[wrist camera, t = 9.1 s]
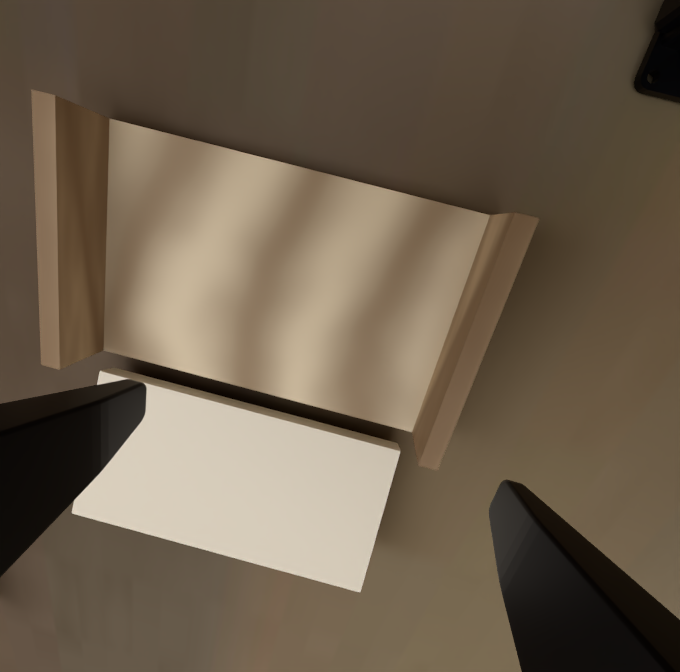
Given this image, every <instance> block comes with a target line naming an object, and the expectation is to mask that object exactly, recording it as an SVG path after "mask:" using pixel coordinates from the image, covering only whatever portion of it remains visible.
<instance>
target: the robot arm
mask: <svg viewBox="0 0 680 672" xmlns="http://www.w3.org/2000/svg"><path fill="white" fill-rule="evenodd" d="M649 73H650V74H651V75H652V77H653V81H652V83H649V82H648V81H647V75H648V74H649ZM634 87H635V89H636V91H637V92H639V93H642V94H646V95H650V96H654V97H658V98H662V99H666V100H670V101H674V102H678V103H680V0H664V2H663V4H662V7H661V9H660V11H659V14H658V16H657V18H656V21H655V34H654V36H653V38H652V40H651V43H650V45H649V47H648V50H647V52H646V54H645V57H644V59H643V61H642V63H641V66H640V68H639V70H638V73H637V75H636V77H635V81H634ZM146 393H147V388H146V385H145V384H144V383H143V382H139V381H135V380H132V379H125V380H120V381H115V382H110V383H104V384H99V385H94V386H89V387H84V388H79V389H74V390H69V391H64V392H58V393H53V394H48V395H43V396H38V397H33V398H28V399H23V400H18V401H12V402H7V403H2V404H0V577H1V576H2V575H3V574H4V573H5V572H6V571H7V570H8V569H9V567H10V566H11V565H12V564H13V563H14V562H15V561H16V560H17V559H18V558H19V557H20V556H21V555H22V554H23V553H24V552H25V551H26V550H27V549H28V548H29V547H30V546H31V545H32V544H33V543H34V541H35V540H36V539H37V538H38V537H39V536H40V535H41V534H42V533H43V532H44V531H45V530H46V529H47V528H48V527H49V526H50V525H51V524H52V523H53V522H54V521H55V520H56V519H57V518H58V517H59V515H60V514H61V513H62V512H63V511H64V510H65V509H66V508H67V507H68V506H69V505H70V504H71V503H72V502H73V501H74V500H75V499H76V498H77V497H78V496H79V495H80V494H81V493H82V492H83V491H84V489H85V488H86V487H87V486H88V485H89V484H90V483H91V482H92V481H93V480H94V479H95V478H96V477H97V476H98V475H99V474H100V472H101V471H102V470H103V469H104V468H105V467H106V465H107V464H108V463H109V462H110V461H111V459H112V458H113V457H114V456H115V454H116V453H117V452H118V450H119V449H120V448H121V447H122V445H123V444H124V443H125V442H126V440H127V439H128V438H129V437H130V435H131V434H132V433H133V432H134V430H135V429H136V428H137V427H138V425H139V424H140V423H141V421H142V420H143V418H144V416H145V412H146ZM489 518H490V525H491V532H492V538H493V545H494V551H495V558H496V565H497V571H498V577H499V582H500V587H501V591H502V595H503V599H504V603H505V607H506V611H507V615H508V619H509V623H510V627H511V631H512V635H513V639H514V643H515V647H516V651H517V655H518V659H519V662H520V666H521V670H522V672H680V620H679V619H678V618H677V617H676V616H675V615H674V614H672V613H671V612H670V611H669V610H668V609H667V608H665V607H664V606H663V605H662V604H661V603H660V602H658V601H657V600H656V599H655V598H654V597H653V596H652V595H650V594H649V593H648V592H647V591H646V590H645V589H643V588H642V587H641V586H640V585H639V584H638V583H636V582H635V581H634V580H633V579H632V578H631V577H630V576H628V575H627V574H626V573H625V572H624V571H623V570H621V569H620V568H619V567H618V566H617V565H616V564H614V563H613V562H612V561H611V560H610V559H609V558H608V557H606V556H605V555H604V554H603V553H602V552H601V551H599V550H598V549H597V548H596V547H595V546H594V545H593V544H591V543H590V542H589V541H588V540H587V539H586V538H584V537H583V536H582V535H581V534H580V533H579V532H577V531H576V530H575V529H574V528H573V527H572V526H571V525H569V524H568V523H567V522H566V521H565V520H564V519H562V518H561V517H560V516H559V515H558V514H557V513H556V512H554V511H553V510H552V509H551V508H550V507H549V506H547V505H546V504H545V503H544V502H543V501H542V500H540V499H539V498H538V497H537V496H536V495H535V494H534V493H532V492H531V491H530V490H529V489H528V488H527V487H525V486H524V485H523V484H521V483H517V482H514V481H510V480H504V481H502V482H501V484H500V486H499V488H498V490H497V492H496V494H495V496H494V498H493V500H492V502H491V505H490V508H489Z"/></svg>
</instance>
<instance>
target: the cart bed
mask: <svg viewBox="0 0 680 672" xmlns="http://www.w3.org/2000/svg"><path fill="white" fill-rule="evenodd" d="M31 92H32V120H33V148H34V176H35V204H36V232H37V260H38V288H39V317H40V345H41V365H44V366H48V367H52V368H56V369H59V370H60V369H62V368H64V367H67V366H69V365H71V364H73V363H76V362H78V361H80V360H82V359H85V358H87V357H89V356H92V355H94V354H96V353H98V352H101V351H103V350H105V351H108V352H112V353H116V354H120V355H123V356H127V357H131V358H135V359H138V360H142V361H146V362H150V363H153V364H157V365H161V366H165V367H168V368H172V369H176V370H180V371H184V372H187V373H191V374H195V375H199V376H202V377H206V378H210V379H214V380H217V381H221V382H225V383H229V384H232V385H236V386H240V387H244V388H247V389H251V390H255V391H259V392H262V393H266V394H270V395H274V396H278V397H281V398H285V399H289V400H293V401H296V402H300V403H304V404H308V405H311V406H315V407H319V408H323V409H326V410H330V411H334V412H338V413H341V414H345V415H349V416H353V417H356V418H360V419H364V420H368V421H371V422H375V423H379V424H383V425H387V426H390V427H394V428H398V429H402V430H405V431H409V432H412V435H413V440H414V446H415V451H416V456H417V461H418V466H422V467H426V468H429V469H433V470H437V471H438V468H439V466H440V463H441V461H442V458H443V456H444V453H445V451H446V449H447V446H448V444H449V441H450V439H451V436H452V434H453V431H454V429H455V426H456V424H457V421H458V419H459V416H460V414H461V411H462V409H463V406H464V404H465V402H466V399H467V397H468V394H469V392H470V389H471V387H472V384H473V382H474V379H475V377H476V374H477V372H478V369H479V367H480V364H481V362H482V359H483V357H484V355H485V352H486V350H487V347H488V345H489V342H490V340H491V337H492V335H493V332H494V330H495V327H496V325H497V322H498V320H499V317H500V315H501V312H502V310H503V308H504V305H505V303H506V300H507V298H508V295H509V293H510V290H511V288H512V285H513V283H514V280H515V278H516V275H517V273H518V270H519V268H520V266H521V263H522V261H523V258H524V256H525V253H526V251H527V248H528V246H529V243H530V241H531V238H532V236H533V233H534V231H535V228H536V226H537V223H538V221H539V219H540V218H536V217H532V216H528V215H524V214H520V213H516V212H511V213H504V214H496V215H487V214H483V213H479V212H475V211H471V210H468V209H464V208H460V207H456V206H452V205H448V204H444V203H440V202H436V201H432V200H428V199H424V198H420V197H416V196H412V195H409V194H405V193H401V192H397V191H393V190H389V189H385V188H381V187H377V186H373V185H369V184H365V183H361V182H357V181H353V180H350V179H346V178H342V177H338V176H334V175H330V174H326V173H322V172H318V171H314V170H310V169H306V168H302V167H298V166H294V165H290V164H287V163H283V162H279V161H275V160H271V159H267V158H263V157H259V156H255V155H251V154H247V153H243V152H239V151H235V150H231V149H228V148H224V147H220V146H216V145H212V144H208V143H204V142H200V141H196V140H192V139H188V138H184V137H180V136H176V135H172V134H169V133H165V132H161V131H157V130H153V129H149V128H145V127H141V126H137V125H133V124H129V123H125V122H121V121H117V120H113V119H110V118H107V117H105V116H102V115H100V114H98V113H95V112H93V111H91V110H88V109H86V108H84V107H81V106H79V105H76V104H74V103H72V102H69V101H67V100H65V99H62V98H60V97H57V96H55V95H51V94H47V93H43V92H39V91H35V90H32V89H31Z"/></svg>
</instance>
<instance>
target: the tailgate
mask: <svg viewBox="0 0 680 672" xmlns="http://www.w3.org/2000/svg"><path fill="white" fill-rule="evenodd" d="M125 379H132V380H135V381H139V382H143V383H144V384H145V385H146V388H147V393H146V412H145V416H144V418H143V420H142V421H141V423H140V424H139V425H138V427H137V428H136V429H135V430H134V432H133V433H132V434H131V435H130V437H129V438H128V439H127V440H126V442H125V443H124V444H123V445H122V447H121V448H120V449H119V450H118V452H117V453H116V454H115V456H114V457H113V458H112V459H111V461H110V462H109V463H108V464H107V465H106V467H105V468H104V469H103V470H102V471H101V472H100V474H99V475H98V476H97V477H96V478H95V479H94V480H93V481H92V482H91V483H90V484H89V485H88V486H87V487H86V488H85V489H84V491H83V492H82V493H81V494H80V495H79V496H78V497H77V498H76V499H75V500H74V504H73V509H72V513H73V514H76V515H80V516H83V517H87V518H91V519H94V520H98V521H102V522H105V523H109V524H113V525H116V526H120V527H123V528H127V529H131V530H134V531H138V532H142V533H145V534H149V535H153V536H156V537H160V538H164V539H167V540H171V541H174V542H178V543H182V544H185V545H189V546H193V547H196V548H200V549H204V550H207V551H211V552H214V553H218V554H222V555H225V556H229V557H233V558H236V559H240V560H244V561H247V562H251V563H254V564H258V565H262V566H265V567H269V568H273V569H276V570H280V571H284V572H287V573H291V574H295V575H298V576H302V577H305V578H309V579H313V580H316V581H320V582H324V583H327V584H331V585H335V586H338V587H342V588H345V589H349V590H353V591H356V592H361V588H362V585H363V581H364V578H365V574H366V571H367V567H368V564H369V560H370V557H371V553H372V550H373V546H374V543H375V539H376V536H377V532H378V529H379V525H380V522H381V518H382V515H383V511H384V508H385V504H386V501H387V497H388V494H389V490H390V487H391V483H392V480H393V476H394V473H395V469H396V466H397V462H398V459H399V455H400V452H401V451H400V448H399V445H398V443H396V442H392V441H388V440H384V439H381V438H377V437H373V436H369V435H366V434H362V433H358V432H354V431H351V430H347V429H343V428H339V427H336V426H332V425H328V424H324V423H321V422H317V421H313V420H309V419H306V418H302V417H298V416H294V415H291V414H287V413H283V412H279V411H276V410H272V409H268V408H264V407H261V406H257V405H253V404H249V403H246V402H242V401H238V400H234V399H231V398H227V397H223V396H219V395H216V394H212V393H208V392H204V391H201V390H197V389H193V388H189V387H186V386H182V385H178V384H174V383H171V382H167V381H163V380H159V379H156V378H152V377H148V376H144V375H141V374H137V373H133V372H129V371H126V370H122V369H118V368H110V369H106V370H102V371H100V373H99V378H98V383H97V385H99V384H104V383H110V382H115V381H120V380H125Z"/></svg>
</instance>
